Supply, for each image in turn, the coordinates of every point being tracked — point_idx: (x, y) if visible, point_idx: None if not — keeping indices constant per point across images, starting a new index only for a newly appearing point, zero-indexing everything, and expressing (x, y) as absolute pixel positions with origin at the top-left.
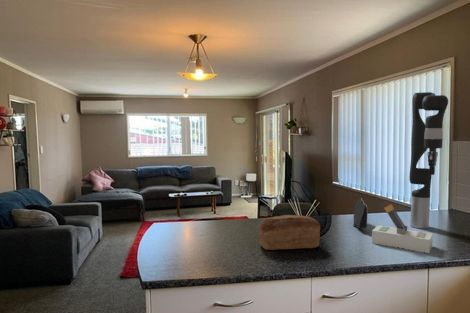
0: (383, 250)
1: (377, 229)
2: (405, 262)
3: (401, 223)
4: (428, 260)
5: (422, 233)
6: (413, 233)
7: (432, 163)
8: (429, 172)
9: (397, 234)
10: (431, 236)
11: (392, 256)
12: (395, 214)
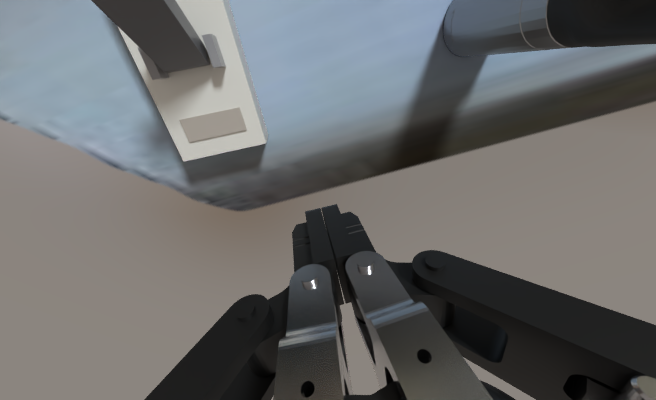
0: (78, 38)
1: None
2: (56, 135)
3: (168, 53)
4: (139, 168)
5: (229, 123)
6: (209, 98)
7: (249, 369)
8: (306, 223)
9: (136, 59)
10: (231, 150)
11: (59, 88)
12: (129, 16)
